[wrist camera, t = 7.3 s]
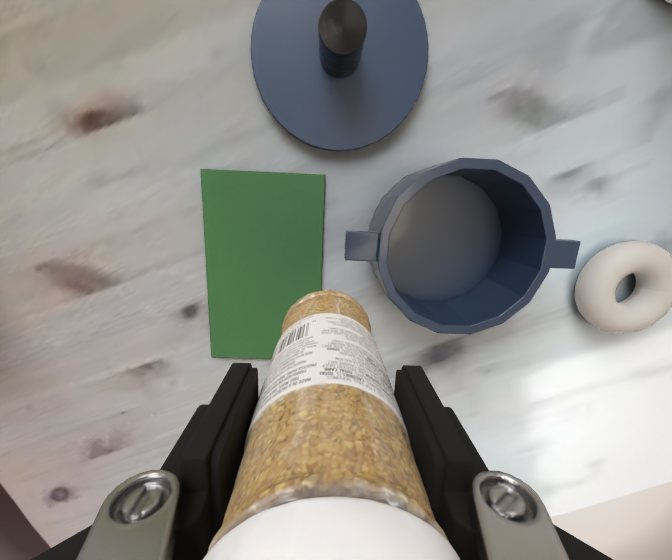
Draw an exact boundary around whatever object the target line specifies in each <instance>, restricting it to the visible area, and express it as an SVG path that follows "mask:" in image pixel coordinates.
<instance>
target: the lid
mask: <svg viewBox="0 0 672 560" xmlns="http://www.w3.org/2000/svg"><path fill="white" fill-rule="evenodd" d="M251 60H252V67H253V72H254V77H255V80H256V84H257V87H258V90H259V92H260V94H261V96H262V98H263V101H264V102H265V104H266V106H267V107H268V109H269V111H270V112H271V114H272V115H273V116H274V117H275V119H276V120H277V121H278V122H279V123H280V124H281V125H282V126H283V127H284V128H285V129H286V130H287V131H288V132H289V133H291V134H292V135H293V136H294V137H296V138H298V139H299V140H301V141H303V142H304V143H307V144H309V145H311V146H314V147H317V148H321V149H325V150H332V151H349V150H355V149H359V148H363V147H366V146H369V145H371V144H373V143H375V142H377V141H379V140H381V139H382V138H384V137H385V136H387V135H388V134H389V133H390V132H392V131H393V130H394V129H395V128H396V127H397V126H398V125H399V124H400V123H401V122H402V121H403V120H404V119H405V117H406V116H407V114H408V113H409V112H410V110H411V109H412V107H413V105H414V103H415V102H416V100H417V98H418V96H419V93H420V91H421V88H422V85H423V82H424V78H425V75H426V69H427V62H428V37H427V30H426V25H425V21H424V17H423V14H422V11H421V8H420V6H419V4H418V1H417V0H261V2H260V5H259V7H258V10H257V13H256V16H255V20H254V23H253V29H252V36H251Z"/></svg>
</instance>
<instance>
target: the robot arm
mask: <svg viewBox="0 0 672 560" xmlns="http://www.w3.org/2000/svg"><path fill="white" fill-rule="evenodd" d="M665 1H666V2H668V3H671V4H672V0H665ZM394 395H395V398H396V401H397V403H398V406H399V409H400V412H401V415H402V418H403V421H404V424H405V426H406V429H407V433H408V436H409V439H410V444H411V449H412V452H413V454H414V458H415V462H416V465H417V468H418V470H419V473H420V476H421V479H422V482H423V485H424V488H425V491H426V493H427V496H428V499H429V503H430V506H431V510H432V512H433V514H434V517H435V521H436V522H437V523H438V524H439V526H440V527H441V528H442V529H443V531H444V533H445V535H446V537H447V539H448V541H449V543H450V545H451V546H452V547H453V549H454V550H455V552H456V553H457V555H458V557H459V558H460V560H613V559H611V558H610V557H608V556H606V555H604V554H603V553H601V552H599V551H598V550H596V549H594V548H593V547H591V546H589V545H587V544H585V543H584V542H582V541H581V540H579V539H577V538H576V537H574V536H572V535H570V534H569V533H567V532H565V531H564V530H562V529H560V528H559V527H557V526H555V525H553V523H552V521H551V519H550V516H549V514H548V512H547V510H546V508H545V506H544V504H543V502H542V500H541V499H540V497H539V496H538V494H537V493H536V492H535V491H534V490H533V489H532V488H531V487H530V486H528V485H527V484H526V483H524V482H523V481H521V480H520V479H518V478H516V477H514V476H512V475H510V474H507V473H503V472H500V471H489V470H488V468H487V467H486V465H485V463H484V462H483V460H482V458H481V457H480V455H479V453H478V452H477V450H476V448H475V447H474V445H473V443H472V441H471V440H470V438H469V436H468V435H467V433H466V431H465V430H464V428H463V426H462V425H461V423H460V421H459V420H458V418H457V416H456V415H455V413H454V411H453V410H452V409H451V408H450V407H444V406H443V405H442V403H441V401H440V399H439V397H438V396H437V394H436V392H435V390H434V388H433V387H432V385H431V383H430V381H429V380H428V378H427V376H426V374H425V372H424V371H423V369H422V367H421V366H405V365H403V367H402V370H397V371H396V379H395V391H394ZM257 402H258V370H257V368H252V365H251V363H233V364H232V365H231V367H230V369H229V371H228V372H227V374H226V376H225V378H224V379H223V381H222V383H221V385H220V387H219V388H218V390H217V392H216V394H215V395H214V397H213V399H212V401H211V403H210V404H209V405H200V406H199V407H198V408H197V410H196V412H195V413H194V415H193V416H192V418H191V420H190V421H189V423H188V425H187V426H186V428H185V430H184V431H183V433H182V435H181V436H180V438H179V439H178V441H177V443H176V444H175V446H174V448H173V449H172V451H171V453H170V454H169V456H168V457H167V459H166V461H165V462H164V464H163V466H162V467H161V469H160V470H150V471H147V472H143V473H139V474H137V475H135V476H133V477H131V478H129V479H127V480H126V481H124V482H123V483H121V484H120V485H118V486H117V487H116V488H115V489H114V490H113V491H112V492H111V493H110V494H109V495H108V496H107V498H106V499H105V501H104V502H103V504H102V506H101V508H100V510H99V512H98V514H97V516H96V519H95V521H94V523H93V525H91V526H89V527H88V528H86V529H84V530H82V531H81V532H79V533H77V534H75V535H74V536H72V537H70V538H68V539H67V540H65V541H63V542H61V543H60V544H58V545H56V546H54V547H53V548H51V549H49V550H47V551H45V552H44V553H42V554H40V555H38V556H37V557H35V558H33V559H32V560H203V559H204V557H205V556H206V555H207V553H208V549H209V546H210V544H211V542H212V540H213V538H214V536H215V535H216V533H217V532H218V531H219V529H220V528H221V527H222V523H223V520H224V517H225V513H226V510H227V507H228V504H229V501H230V498H231V496H232V492H233V488H234V484H235V480H236V477H237V473H238V470H239V467H240V464H241V460H242V457H243V454H244V446H245V441H246V437H247V433H248V430H249V427H250V424H251V420H252V417H253V414H254V411H255V408H256V405H257Z"/></svg>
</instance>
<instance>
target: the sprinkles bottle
mask: <svg viewBox="0 0 672 560" xmlns="http://www.w3.org/2000/svg"><path fill="white" fill-rule="evenodd" d="M203 560H460V558H459V557H458V555H457V553H456V552H455V550H454V549H453V547H452V546H451V545H450V543H449V541H448V539H447V537H446V535H445V533H444V531H443V529H442V528H441V527H440V526H439V524H438V523H437V522H436V521H435V517H434V514H433V512H432V510H431V506H430V503H429V499H428V496H427V493H426V491H425V488H424V485H423V482H422V479H421V476H420V473H419V470H418V468H417V465H416V462H415V458H414V454H413V452H412V449H411V444H410V439H409V436H408V433H407V429H406V426H405V424H404V421H403V418H402V415H401V412H400V409H399V406H398V403H397V401H396V398H395V395H394V392H393V389H392V386H391V383H390V380H389V378H388V375H387V372H386V369H385V366H384V364H383V361H382V358H381V355H380V352H379V350H378V347H377V344H376V342H375V340H374V339H373V337H372V334H371V326H370V323H369V318H368V315H367V313H366V312H365V311H364V309H363V308H362V306H361V305H360V304H359V303H358V302H357V301H356V300H355V299H353V298H352V297H350V296H348V295H346V294H344V293H342V292H337V291H332V290H327V291H324V290H323V291H318V292H313V293H310V294H307V295H305V296H304V297H303V298H301V299H299V300H298V301H297V302H296V303H295V304H294V305H293V306H291V308H290V309H289V311H288V312H287V315H286V316H285V318H284V321H283V325H282V335H281V338H280V339H279V341H278V343H277V346H276V348H275V351H274V354H273V357H272V360H271V363H270V366H269V369H268V372H267V375H266V378H265V381H264V384H263V387H262V390H261V393H260V396H259V399H258V402H257V405H256V408H255V411H254V414H253V417H252V420H251V424H250V427H249V430H248V433H247V437H246V441H245V446H244V454H243V457H242V460H241V464H240V467H239V470H238V473H237V477H236V480H235V484H234V488H233V492H232V496H231V498H230V501H229V504H228V507H227V510H226V513H225V517H224V520H223V523H222V527H221V528H220V529H219V531H218V532H217V533H216V535H215V536H214V538H213V540H212V542H211V544H210V546H209V549H208V553H207V555H206V556H205V557H204V559H203Z"/></svg>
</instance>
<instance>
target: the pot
mask: <svg viewBox="0 0 672 560" xmlns="http://www.w3.org/2000/svg"><path fill="white" fill-rule="evenodd" d="M579 246H580V241H575V240H562V239H556V235H555V230H554V225H553V220H552V214H551V209H550V205H549V203H548V202H547V200H546V199H545V198H544V196H543V195H542V193H541V192H540V191H539V189H538V188H537V186H536V185H535V184H534V182H533V181H532V179H531V178H530V177H529V176H528V175H526V174H524V173H522V172H520V171H518V170H517V169H515V168H513V167H511V166H509V165H507V164H505V163H503V162H502V161H500V160H495V159H474V158H459V159H456V160H452V161H449V162H446V163H442V164H439V165H435V166H432V167H429V168H427V169H424V170H421V171H418V172H416V173H413V174H411V175H408V176H406V177H404V178H403V179H402V180H401V181H400V182H399V183H397V184H396V185H395V186H394V187H392V189H391V190H390V191H389V192H388V193H387V194H385V195H384V196H383V198H382V199H381V201H380V203H379V205H378V207H377V209H376V210H375V213H374V215H373V218H372V220H371V222H370V226H369V232H366V231H346V238H345V260H354V261H371V264H372V267H373V269H374V272H375V275H376V278H377V279H378V281H379V282H380V284H381V286H382V287H383V289H384V291H385V292H386V294H387V296H388V297H389V298H390V300H391V301H392V302H393V303H394V304H395V305H396V306H397V307H398V308H399V309H400V310H401V312H402V313H403V314H404V315H405V316H406V317H407V318H408V319H409V320H410V321H412V322H414V323H417V324H419V325H421V326H423V327H426V328H428V329H430V330H432V331H435V332H437V333H448V334H473V333H476V332H478V331H481V330H484V329H487V328H490V327H493V326H496V325H499V324H502V323H504V322H505V321H506V320H507V319H509V318H510V317H511V316H512V315H514V314H515V313H516V312H518V311H519V310H520V309H521V308H523V307H524V306H525V305H526V304H528V303H529V301H531V299H532V298H533V296H534V295H535V293H536V291H537V290H538V288H539V287H540V285H541V284H542V282H543V280H544V279H545V277H546V276H547V274H548V272H549V269H550V268H568V269H574V268H575V263H576V259H577V255H578V250H579Z"/></svg>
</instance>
